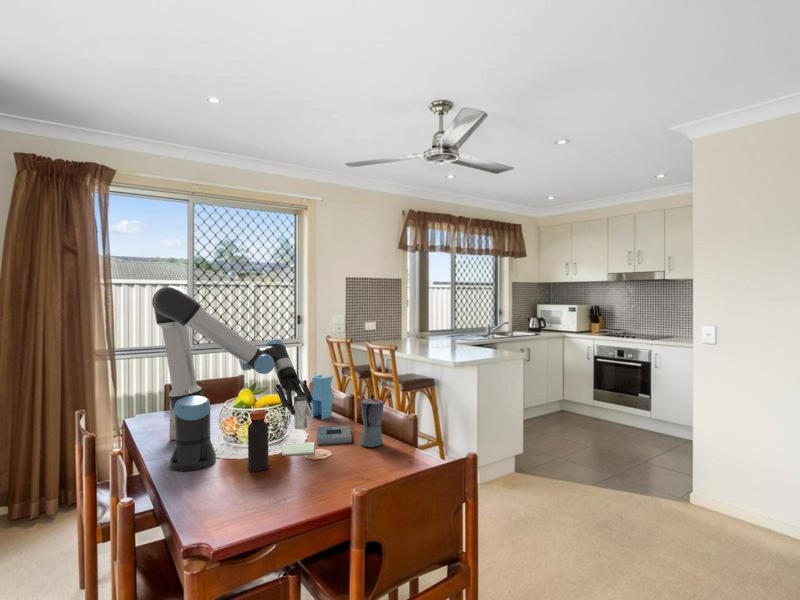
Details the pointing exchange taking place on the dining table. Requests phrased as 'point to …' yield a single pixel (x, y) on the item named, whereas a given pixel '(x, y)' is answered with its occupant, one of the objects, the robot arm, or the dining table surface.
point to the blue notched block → (322, 396)
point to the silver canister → (301, 412)
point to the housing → (333, 435)
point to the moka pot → (372, 422)
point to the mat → (298, 448)
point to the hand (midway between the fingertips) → (305, 419)
